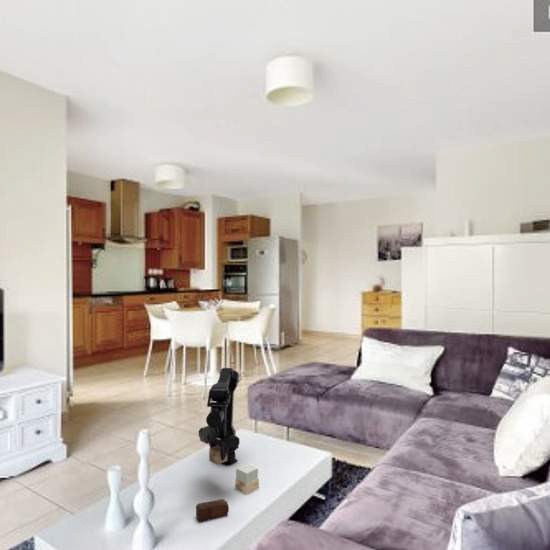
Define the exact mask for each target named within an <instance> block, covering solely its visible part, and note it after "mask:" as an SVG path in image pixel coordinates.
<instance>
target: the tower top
mask: <svg viewBox="0 0 550 550" xmlns="http://www.w3.org/2000/svg"><path fill="white" fill-rule="evenodd" d="M258 471H259V468H258V467H256V466H254V465H251V464H250V463H245V464H243V465H241V466H238V467H237V468H236V469H235V479H238V480H240V481H242V482H244V483H246V484H248V483H250V482H252V481H254V480H256V479H258V478H259V475H258V474H259V472H258Z"/></svg>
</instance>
